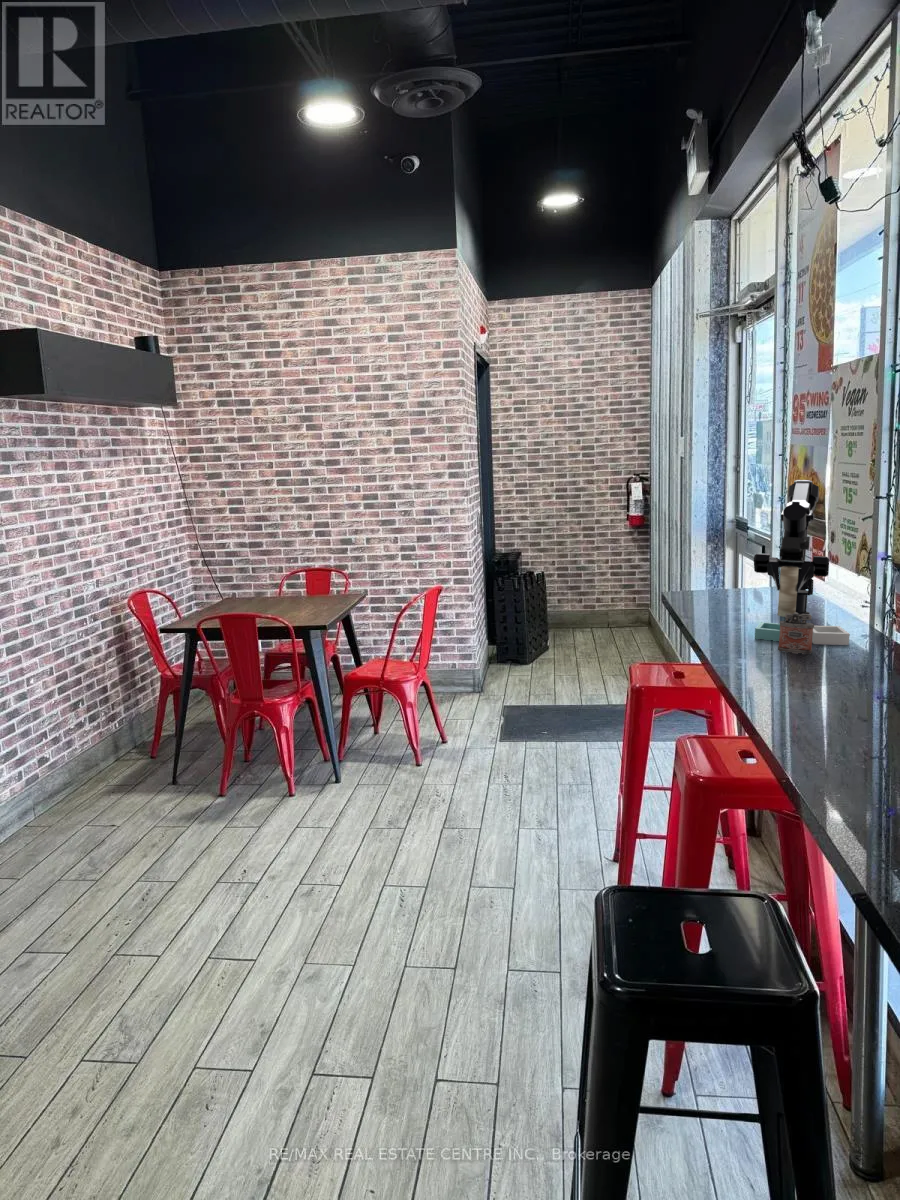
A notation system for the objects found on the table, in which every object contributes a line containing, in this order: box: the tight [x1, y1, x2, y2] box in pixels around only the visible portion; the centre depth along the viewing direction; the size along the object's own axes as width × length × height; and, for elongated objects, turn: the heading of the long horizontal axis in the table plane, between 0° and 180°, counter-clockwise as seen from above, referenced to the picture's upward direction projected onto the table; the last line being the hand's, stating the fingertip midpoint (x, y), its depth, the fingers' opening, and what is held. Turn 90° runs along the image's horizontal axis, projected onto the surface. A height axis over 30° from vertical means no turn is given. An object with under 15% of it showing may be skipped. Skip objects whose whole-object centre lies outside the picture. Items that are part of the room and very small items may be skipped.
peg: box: [777, 566, 799, 618], centre depth 221 cm, size 4×4×13 cm
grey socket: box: [812, 625, 851, 646], centre depth 220 cm, size 9×9×3 cm
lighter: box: [777, 612, 815, 655], centre depth 209 cm, size 8×3×10 cm, turn 62°
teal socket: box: [754, 621, 780, 642], centre depth 224 cm, size 9×9×3 cm
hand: (787, 590), depth 220 cm, fingers closed on peg, 4 cm apart
